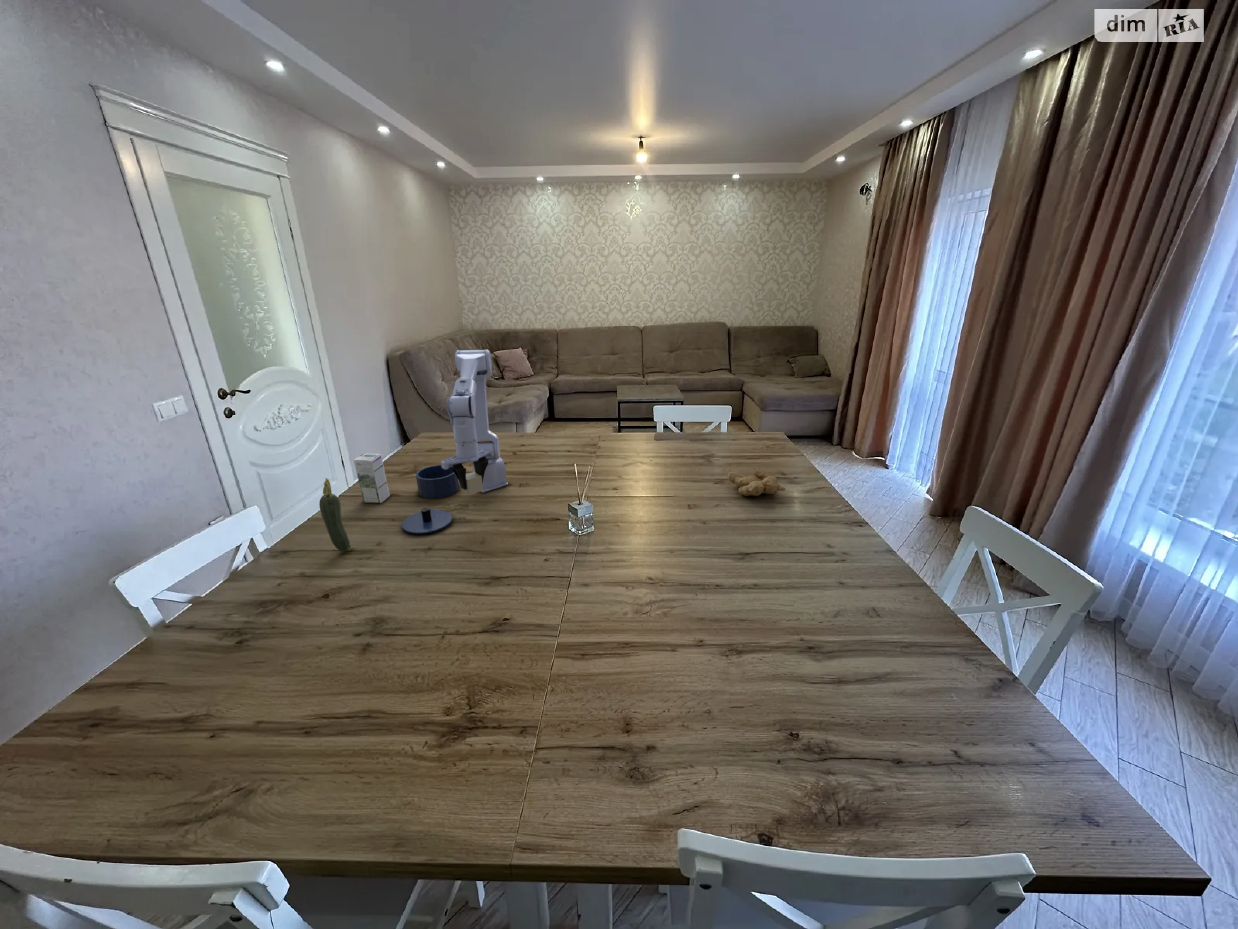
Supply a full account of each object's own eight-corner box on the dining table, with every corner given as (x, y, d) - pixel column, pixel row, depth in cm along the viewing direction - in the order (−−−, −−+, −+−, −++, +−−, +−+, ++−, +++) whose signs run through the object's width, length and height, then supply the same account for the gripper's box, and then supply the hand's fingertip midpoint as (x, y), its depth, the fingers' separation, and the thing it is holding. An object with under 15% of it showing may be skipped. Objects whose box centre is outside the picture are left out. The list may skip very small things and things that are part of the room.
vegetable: (343, 558, 119) (324, 484, 112) (328, 556, 120) (308, 483, 113) (355, 548, 123) (338, 477, 116) (340, 547, 124) (322, 475, 117)
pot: (448, 479, 164) (446, 461, 162) (465, 490, 156) (463, 472, 154) (413, 490, 157) (409, 471, 154) (428, 502, 148) (425, 482, 146)
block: (476, 486, 138) (474, 471, 136) (483, 490, 135) (481, 475, 133) (462, 490, 135) (460, 475, 133) (469, 495, 132) (467, 480, 130)
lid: (442, 508, 144) (440, 494, 142) (460, 525, 135) (458, 510, 133) (396, 522, 136) (393, 508, 134) (412, 541, 127) (409, 525, 125)
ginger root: (791, 499, 145) (787, 475, 142) (738, 511, 147) (734, 487, 144) (776, 480, 160) (773, 458, 157) (729, 491, 161) (724, 469, 159)
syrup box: (390, 495, 153) (382, 452, 147) (380, 504, 147) (370, 459, 142) (373, 495, 153) (364, 452, 148) (362, 503, 148) (352, 459, 142)
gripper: (446, 450, 122) (454, 498, 127) (497, 437, 131) (502, 482, 136) (434, 443, 127) (442, 490, 132) (484, 431, 136) (489, 475, 141)
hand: (472, 486), depth 134 cm, fingers closed on block, 4 cm apart
